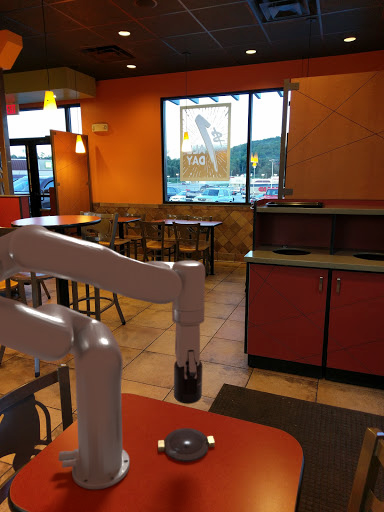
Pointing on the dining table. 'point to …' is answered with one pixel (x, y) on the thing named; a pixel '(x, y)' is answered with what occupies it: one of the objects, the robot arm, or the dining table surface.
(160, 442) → the base
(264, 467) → the dining table surface
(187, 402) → the supplement bottle
